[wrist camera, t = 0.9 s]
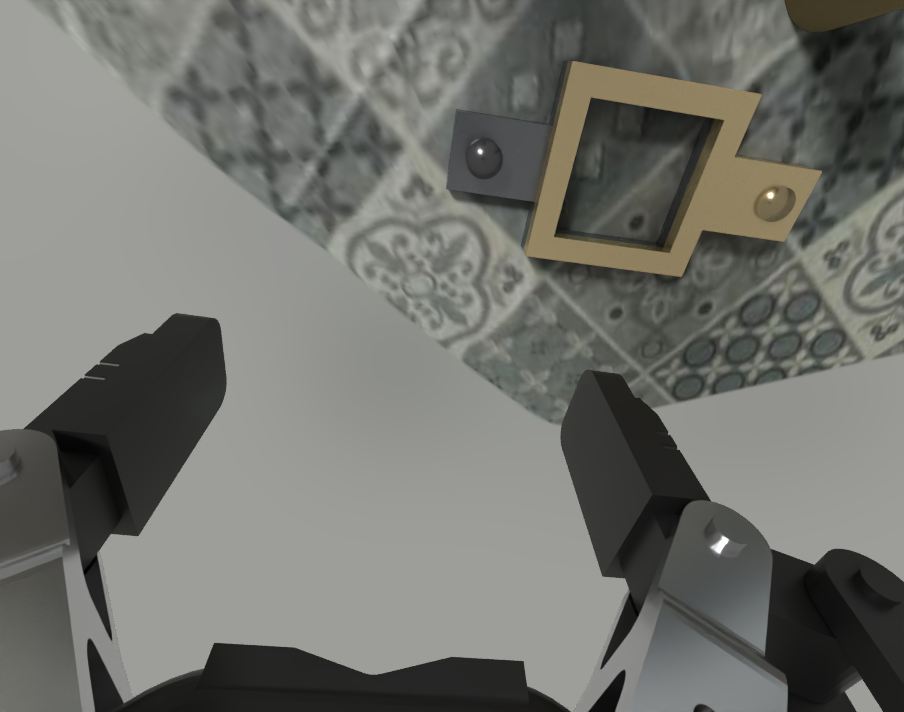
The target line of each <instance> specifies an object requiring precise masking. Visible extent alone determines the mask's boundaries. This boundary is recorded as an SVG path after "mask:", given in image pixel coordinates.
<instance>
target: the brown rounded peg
mask: <svg viewBox="0 0 904 712" xmlns="http://www.w3.org/2000/svg"><path fill="white" fill-rule="evenodd" d="M785 4H786V7H787V11H788V14H789V17H790V18H791V19H792V20H793V22H794V23H795V24H796V25H797V27H799V28H801V29H804V30H806V31H808V32H826V31H829V30H833V29H836V28H840V27H843V26H846V25H850V24H853V23H856V22H860V21H863V20H867V19H870V18H873V17H877V16H880V15H883V14H887V13H890V12H893V11H897V10H900V9H904V0H785Z"/></svg>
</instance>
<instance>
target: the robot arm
mask: <svg viewBox="0 0 904 712" xmlns="http://www.w3.org/2000/svg"><path fill="white" fill-rule="evenodd" d="M225 392H226V370H225V361H224V353H223V345H222V335H221V328H220V324H219V322H218V320H216V319H215V318H208V317H201V316H194V315H187V314H179V313H176V314H174V315H172V316H171V317H170V318H169V319H168V320H167V321H166V322H164V323H163V324H162V325H161V327H159V328H158V329H157V330H156V331H155V332H154V333H153V334H147V333H144V334H142V335H139V336H137V337H135V338H133V339H131V340H129V341H127V342H124V343H122V344H120V345H118V346H117V347H116V348H115V349H113V350H112V351H111V352H110V353H109V354H108V355H107V356H106V357H104V358H103V359H102V360H101V361H100V365H95V366H94V367H93V368H92V369H91V370H90V371H88V372H87V373H86V374H85V378H84V379H82V378H81V379H79V380H78V381H77V382H76V383H75V384H74V385H73V386H71V387H70V388H69V389H68V390H67V391H66V392H65V393H64V394H62V395H61V396H60V397H59V398H58V399H57V400H56V401H55V402H53V403H52V404H51V405H50V406H49V407H48V408H47V409H46V410H44V411H43V412H42V413H41V414H40V415H39V416H37V417H36V418H35V419H34V420H33V421H32V422H31V423H30V424H28V425H27V426H26V427H25V428H24V429H12V430H3V431H0V712H570V711H569V710H568V709H567V708H565V707H564V706H562V705H561V704H559V703H558V702H556V701H555V700H554V699H552V698H550V697H548V696H547V695H545V694H543V693H541V692H539V691H537V690H535V689H533V688H530V687H527V683H526V676H525V669H524V662H523V661H510V660H494V659H477V658H461V657H450V658H446V659H441V660H437V661H433V662H429V663H425V664H421V665H416V666H412V667H409V668H404V669H400V670H396V671H392V672H387V673H384V674H378V675H369V674H365V673H362V672H359V671H356V670H354V669H351V668H348V667H346V666H343V665H340V664H337V663H335V662H332V661H329V660H327V659H324V658H321V657H319V656H316V655H313V654H310V653H307V652H305V651H302V650H300V649H297V648H291V647H274V646H258V645H241V644H224V643H214V645H213V647H212V650H211V652H210V655H209V658H208V660H207V663H206V665H205V668H204V669H201V670H196V671H192V672H189V673H186V674H183V675H180V676H178V677H175V678H172V679H169V680H167V681H165V682H163V683H161V684H158V685H157V686H154V687H152V688H150V689H148V690H146V691H144V692H142V693H141V694H139V695H137V696H136V697H134V698H133V696H132V693H131V688H130V685H129V682H128V678H127V675H126V672H125V669H124V665H123V662H122V658H121V654H120V649H119V645H118V640H117V635H116V629H115V624H114V619H113V614H112V609H111V603H110V598H109V593H108V588H107V583H106V578H105V573H104V568H103V562H102V558H101V555H100V553H99V550H100V549H101V547H102V546H103V544H104V543H105V541H106V540H107V538H108V537H109V535H110V534H120V535H131V536H139V534H140V533H141V531H142V529H143V528H144V526H145V525H146V523H147V522H148V520H149V518H150V517H151V515H152V514H153V512H154V510H155V509H156V507H157V506H158V504H159V503H160V501H161V499H162V498H163V496H164V495H165V493H166V492H167V490H168V488H169V487H170V485H171V484H172V482H173V481H174V479H175V477H176V476H177V474H178V473H179V471H180V470H181V468H182V466H183V465H184V463H185V462H186V460H187V459H188V457H189V455H190V454H191V452H192V451H193V449H194V448H195V446H196V444H197V443H198V441H199V440H200V438H201V436H202V435H203V433H204V432H205V430H206V429H207V427H208V426H209V424H210V422H211V421H212V419H213V418H214V416H215V414H216V413H217V411H218V410H219V408H220V406H221V404H222V402H223V399H224V396H225ZM561 446H562V450H563V453H564V456H565V459H566V462H567V465H568V469H569V472H570V475H571V478H572V481H573V485H574V488H575V491H576V494H577V497H578V500H579V504H580V507H581V510H582V513H583V516H584V519H585V523H586V526H587V529H588V532H589V535H590V538H591V542H592V545H593V548H594V551H595V554H596V557H597V560H598V564H599V567H600V570H601V573H602V576H604V577H616V578H625V579H626V582H627V584H628V587H629V590H628V592H627V593H626V594H625V596H624V598H623V600H622V602H621V605H620V607H619V610H618V612H617V615H616V617H615V620H614V622H613V624H612V627H611V629H610V632H609V634H608V637H607V639H606V642H605V644H604V647H603V649H602V652H601V654H600V656H599V659H598V661H597V664H596V666H595V669H594V671H593V674H592V676H591V678H590V681H589V683H588V685H587V687H586V689H585V691H584V692H583V694H582V696H581V698H580V700H579V701H578V703H577V705H576V707H575V709H574V711H573V712H856V710H855V708H854V707H853V705H852V703H851V702H850V700H849V698H848V696H847V695H846V693H845V691H846V690H847V689H849V688H850V687H852V686H853V685H854V684H856V683H857V682H859V681H860V680H862V679H863V681H864V682H865V684H866V686H867V687H868V689H869V690H870V692H871V693H872V695H873V696H874V698H875V700H876V701H877V703H878V704H879V706H880V707H881V709H882V711H883V712H904V582H903V581H902V580H901V579H899V578H898V577H897V576H896V575H895V574H893V573H892V572H891V571H889V570H888V569H887V568H885V567H884V566H882V565H880V564H879V563H877V562H876V561H874V560H872V559H870V558H868V557H866V556H864V555H861V554H859V553H856V552H853V551H850V550H845V549H833V550H830V551H828V552H827V553H826V554H825V555H824V556H823V557H822V558H821V559H820V560H819V561H818V562H817V563H816V564H815V565H813V564H810V563H808V562H805V561H803V560H800V559H797V558H794V557H791V556H789V555H786V554H783V553H781V552H778V551H775V550H772V549H770V547H769V545H768V543H767V541H766V540H765V538H764V537H763V535H762V534H761V533H760V532H759V530H758V529H756V527H755V526H754V525H752V524H751V523H750V522H749V521H748V520H747V519H746V518H744V517H743V516H741V515H740V514H738V513H737V512H735V511H734V510H732V509H730V508H728V507H726V506H724V505H721V504H718V503H715V502H711V500H710V499H709V497H708V496H707V494H706V492H705V491H704V489H703V488H702V486H701V484H700V483H699V481H698V479H697V478H696V476H695V475H694V473H693V471H692V470H691V468H690V466H689V465H688V463H687V462H686V460H685V458H684V457H683V455H682V453H681V452H680V450H677V445H676V444H675V442H674V440H673V439H672V437H671V436H670V435H668V431H667V429H666V427H665V426H664V424H663V423H662V421H661V419H660V418H659V416H658V415H657V414H656V413H655V412H654V411H653V410H652V409H651V408H650V407H649V406H648V405H647V404H645V403H644V402H643V401H642V400H641V399H640V398H635V397H634V395H633V394H632V392H631V390H630V389H629V387H628V385H627V383H626V382H625V380H624V378H623V377H622V376H621V375H620V374H615V373H608V372H600V371H593V370H586V371H585V372H584V373H583V374H582V376H581V378H580V380H579V382H578V385H577V387H576V390H575V392H574V395H573V397H572V400H571V402H570V405H569V407H568V410H567V412H566V415H565V417H564V420H563V423H562V427H561Z"/></svg>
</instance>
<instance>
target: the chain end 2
mask: <svg viewBox="0 0 904 712" xmlns="http://www.w3.org/2000/svg"><path fill="white" fill-rule="evenodd" d="M761 96H762V94H757V93H751V92H746V91H740V90H734V89H729V88H723V87H717V86H712V85H706V84H700V83H695V82H689V81H684V80H678V79H672V78H667V77H661V76H655V75H650V74H644V73H638V72H633V71H627V70H621V69H616V68H610V67H604V66H599V65H593V64H587V63H582V62H576V61H568V63H567V67H566V71H565V76H564V80H563V84H562V88H561V93H560V97H559V101H558V105H557V110H556V114H555V118H554V122H553V127H552V131H551V135H550V139H549V144H548V148H547V152H546V157H545V161H544V165H543V169H542V174H541V178H540V182H539V186H538V191H537V195H536V199H535V203H534V208H533V212H532V216H531V220H530V225H529V229H528V233H527V237H526V242H525V246H524V250H523V251H524V253H525V255H526V256H528V257H536V258H543V259H551V260H558V261H566V262H573V263H581V264H588V265H596V266H603V267H611V268H618V269H626V270H633V271H641V272H648V273H656V274H663V275H671V276H678V277H682V275H683V273H684V271H685V268H686V266H687V264H688V262H689V259H690V257H691V255H692V252H693V250H694V248H695V246H696V243H697V241H698V239H699V237H700V234H701V232H702V230H706V231H713V232H720V233H727V234H734V235H740V236H747V237H754V238H761V239H768V240H775V241H782V242H784V241H785V239H786V237H787V236H788V234H789V232H790V230H791V228H792V226H793V225H794V223H795V221H796V219H797V217H798V215H799V214H800V212H801V210H802V208H803V206H804V204H805V203H806V201H807V199H808V197H809V195H810V193H811V192H812V190H813V188H814V186H815V184H816V182H817V181H818V179H819V177H820V175H821V173H822V171H820V170H816V169H812V168H809V167H805V166H801V165H796V164H790V163H784V162H778V161H772V160H766V159H759V158H753V157H747V156H741V155H736V153H737V150H738V148H739V146H740V143H741V141H742V139H743V137H744V134H745V132H746V130H747V128H748V125H749V123H750V121H751V118H752V116H753V114H754V112H755V109H756V107H757V105H758V103H759V100H760V98H761ZM591 97H592V98H598V99H603V100H609V101H615V102H621V103H627V104H633V105H639V106H645V107H651V108H656V109H662V110H668V111H674V112H680V113H686V114H692V115H698V116H704V117H710V118H715V120H714V122H713V125H712V127H711V130H710V132H709V135H708V137H707V140H706V142H705V145H704V147H703V150H702V152H701V155H700V157H699V160H698V162H697V165H696V167H695V170H694V172H693V175H692V177H691V180H690V182H689V185H688V187H687V190H686V192H685V195H684V197H683V199H682V202H681V204H680V207H679V209H678V212H677V214H676V217H675V219H674V222H673V224H672V227H671V229H670V232H669V234H668V237H667V239H666V242H665V244H664V247H663V248H661V247H654V246H647V245H640V244H632V243H625V242H618V241H611V240H604V239H597V238H589V237H582V236H575V235H568V234H561V233H555V230H556V227H557V223H558V219H559V215H560V212H561V208H562V204H563V200H564V197H565V193H566V189H567V186H568V182H569V178H570V174H571V171H572V167H573V163H574V159H575V156H576V152H577V148H578V144H579V141H580V137H581V133H582V129H583V126H584V122H585V118H586V114H587V111H588V107H589V103H590V99H591Z"/></svg>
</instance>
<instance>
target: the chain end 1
mask: <svg viewBox="0 0 904 712" xmlns="http://www.w3.org/2000/svg"><path fill="white" fill-rule="evenodd" d="M567 63H568V61H564V62H563V66H562V70H561V75H560V79H559V83H558V88H557V92H556V96H555V101H554V105H553V109H552V114H551V118H550V122H549V124H544V123H538V122H532V121H526V120H519V119H513V118H507V117H501V116H495V115H489V114H482V113H476V112H470V111H464V110H458V109H456V115H455V123H454V130H453V138H452V145H451V153H450V161H449V168H448V176H447V183H446V189H449V190H456V191H463V192H470V193H477V194H483V195H490V196H497V197H504V198H511V199H518V200H525V201H531V205H530V209H529V213H528V218H527V222H526V226H525V231H524V235H523V239H522V244H521V247H522V249H523V250H524V246H525V242H526V237H527V233H528V229H529V225H530V220H531V216H532V212H533V208H534V203H535V199H536V195H537V191H538V186H539V182H540V178H541V174H542V169H543V165H544V161H545V157H546V152H547V148H548V144H549V139H550V135H551V131H552V127H553V122H554V118H555V114H556V110H557V105H558V101H559V97H560V93H561V88H562V84H563V80H564V76H565V71H566V67H567ZM714 120H715V118H710V117H706V119H705V121H704V124H703V126H702V129H701V132H700V134H699V137H698V139H697V142H696V144H695V147H694V149H693V152H692V154H691V157H690V160H689V162H688V165H687V167H686V170H685V172H684V175H683V177H682V180H681V182H680V185H679V188H678V190H677V193H676V195H675V198H674V200H673V203H672V205H671V208H670V210H669V213H668V216H667V218H666V221H665V223H664V226H663V228H662V231H661V233H660V236H659V239H658V241H657V243H655V242H648V241H641V240H634V239H627V238H620V237H612V236H605V235H598V234H591V233H584V232H577V231H570V230H563V229H556V230H555V233H561V234H568V235H575V236H582V237H589V238H597V239H604V240H611V241H618V242H625V243H632V244H640V245H647V246H654V247H661V248H663V247H664V244H665V242H666V239H667V237H668V234H669V232H670V229H671V227H672V224H673V222H674V219H675V217H676V214H677V212H678V209H679V207H680V204H681V202H682V199H683V197H684V195H685V192H686V190H687V187H688V185H689V182H690V180H691V177H692V175H693V172H694V170H695V167H696V165H697V162H698V160H699V157H700V155H701V152H702V150H703V147H704V145H705V142H706V140H707V137H708V135H709V132H710V130H711V127H712V125H713V122H714Z"/></svg>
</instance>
